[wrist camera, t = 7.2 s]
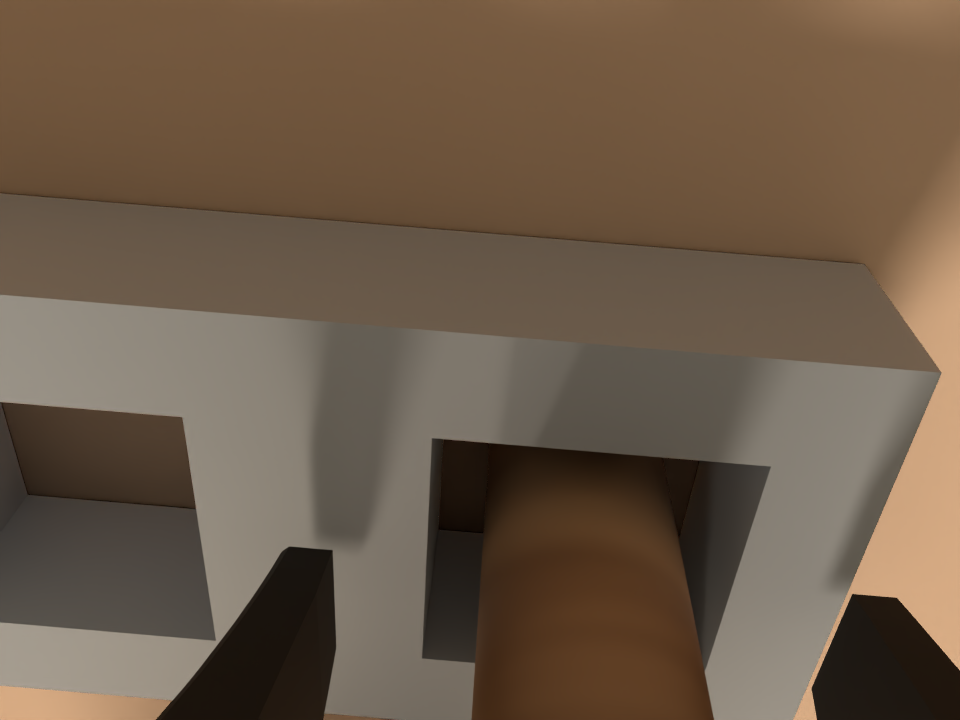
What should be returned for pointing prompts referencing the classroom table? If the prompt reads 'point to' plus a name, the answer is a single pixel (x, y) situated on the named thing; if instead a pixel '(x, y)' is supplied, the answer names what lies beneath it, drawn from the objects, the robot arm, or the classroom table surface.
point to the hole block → (429, 435)
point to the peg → (583, 592)
